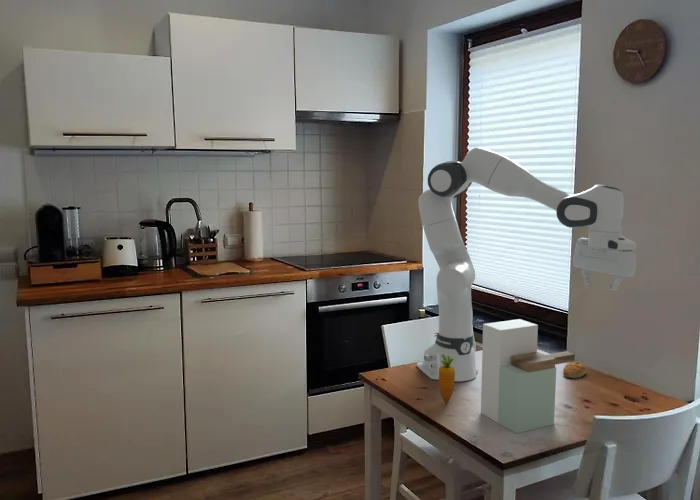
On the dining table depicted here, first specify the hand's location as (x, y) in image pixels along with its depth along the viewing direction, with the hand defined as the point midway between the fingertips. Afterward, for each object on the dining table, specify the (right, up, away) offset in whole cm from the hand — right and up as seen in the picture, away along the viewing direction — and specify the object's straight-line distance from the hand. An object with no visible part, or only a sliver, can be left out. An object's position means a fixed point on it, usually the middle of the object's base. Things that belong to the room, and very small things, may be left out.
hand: (600, 287), depth 177 cm
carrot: (-46, -35, +1) cm, 57 cm away
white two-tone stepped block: (-28, -36, -10) cm, 47 cm away
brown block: (-21, -20, -13) cm, 32 cm away
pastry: (+2, -32, +26) cm, 41 cm away
